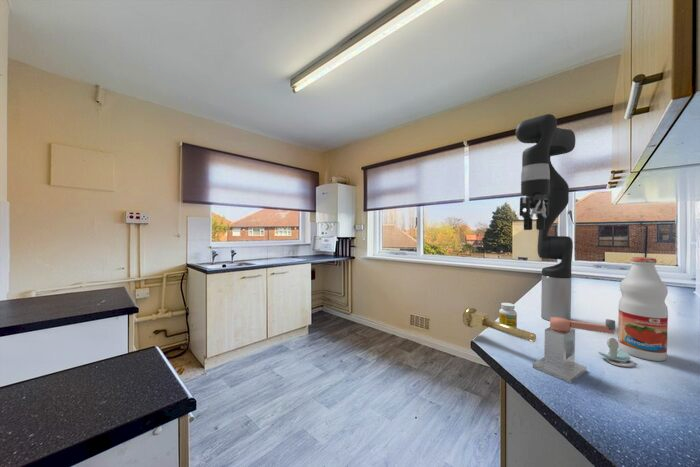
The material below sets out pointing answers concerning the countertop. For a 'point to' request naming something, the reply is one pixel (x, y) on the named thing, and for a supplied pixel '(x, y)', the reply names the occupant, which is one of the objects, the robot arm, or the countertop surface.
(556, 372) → the eye bracket
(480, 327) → the gold bolt
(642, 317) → the fruit juice
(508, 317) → the supplement bottle
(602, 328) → the lock lever
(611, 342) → the pacifier
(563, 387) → the countertop surface
